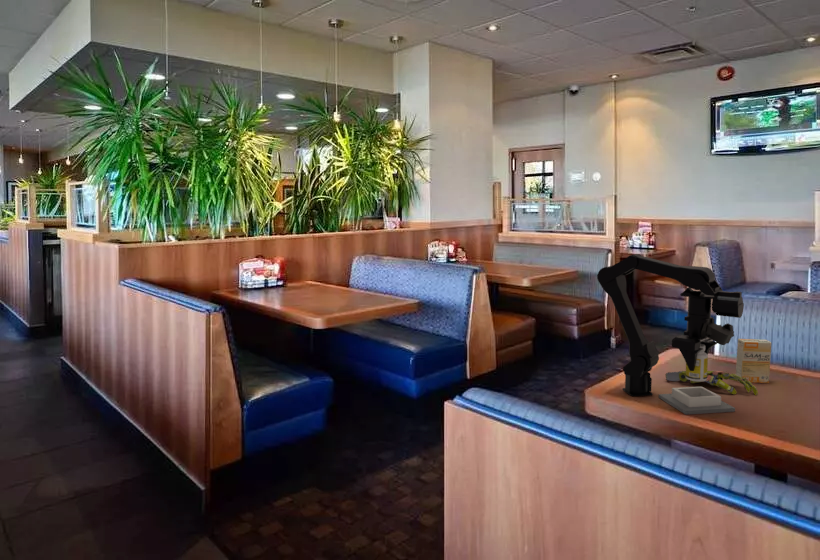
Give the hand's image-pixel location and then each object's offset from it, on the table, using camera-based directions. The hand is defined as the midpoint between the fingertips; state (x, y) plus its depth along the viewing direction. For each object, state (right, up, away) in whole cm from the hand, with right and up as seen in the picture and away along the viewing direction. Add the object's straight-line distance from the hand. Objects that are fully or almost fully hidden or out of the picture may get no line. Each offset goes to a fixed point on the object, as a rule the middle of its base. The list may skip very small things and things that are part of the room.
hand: (696, 368), depth 165 cm
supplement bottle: (0, -3, 0) cm, 3 cm away
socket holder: (0, -10, +1) cm, 10 cm away
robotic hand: (+12, -8, +16) cm, 22 cm away
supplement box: (+27, -7, +21) cm, 35 cm away
